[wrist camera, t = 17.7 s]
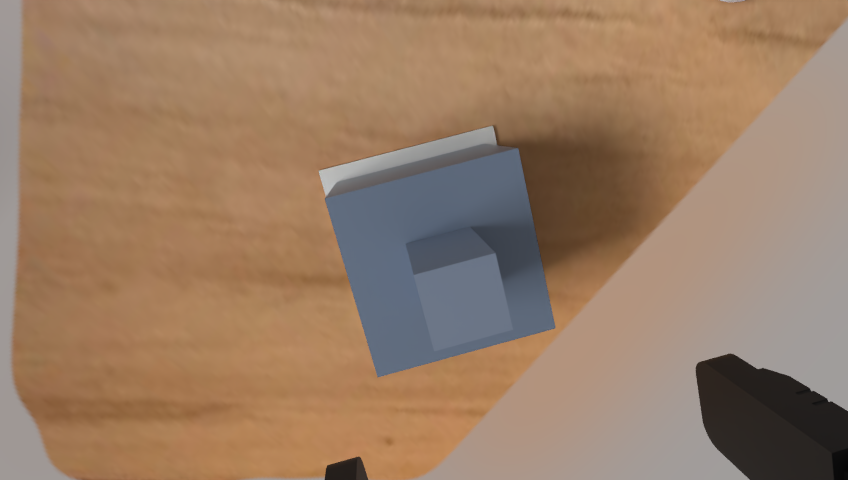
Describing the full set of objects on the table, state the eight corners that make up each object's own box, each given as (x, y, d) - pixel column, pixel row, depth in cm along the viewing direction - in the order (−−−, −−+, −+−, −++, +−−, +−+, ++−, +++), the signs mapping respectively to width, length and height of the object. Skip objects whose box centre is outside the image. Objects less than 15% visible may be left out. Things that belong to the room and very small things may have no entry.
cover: (337, 181, 35) (310, 218, 21) (483, 143, 35) (558, 153, 21) (377, 320, 37) (378, 440, 23) (514, 283, 38) (600, 378, 23)
